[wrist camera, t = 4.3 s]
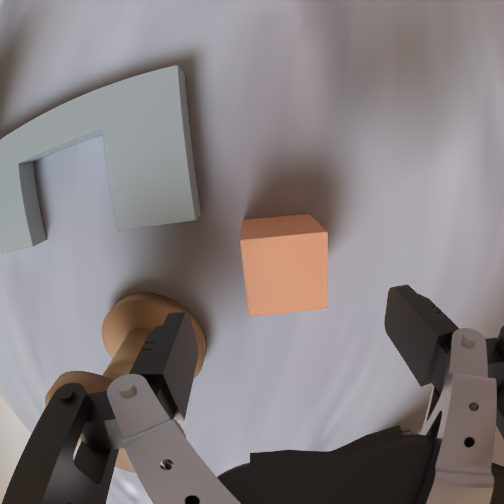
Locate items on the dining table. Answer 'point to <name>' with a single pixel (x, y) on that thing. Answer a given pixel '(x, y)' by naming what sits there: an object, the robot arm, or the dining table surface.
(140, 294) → the knob
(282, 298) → the orange block
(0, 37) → the dining table surface
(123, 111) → the notch board
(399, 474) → the robot arm
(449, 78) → the dining table surface
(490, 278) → the dining table surface
